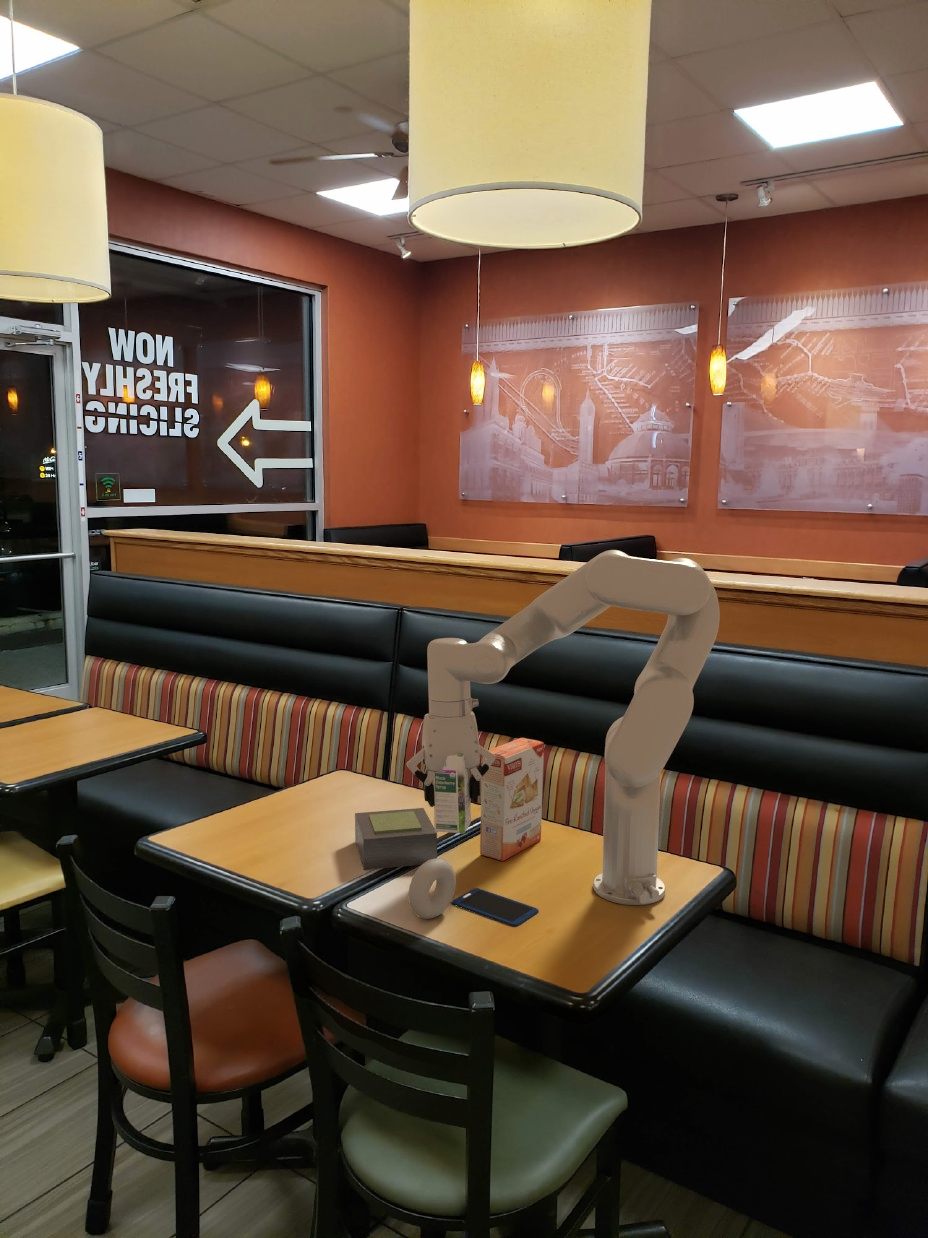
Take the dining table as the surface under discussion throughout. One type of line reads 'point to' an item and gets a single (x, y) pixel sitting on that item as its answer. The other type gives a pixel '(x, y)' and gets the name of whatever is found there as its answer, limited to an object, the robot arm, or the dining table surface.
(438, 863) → the donut
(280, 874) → the dining table surface
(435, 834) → the stand
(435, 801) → the syrup box
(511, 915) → the cell phone
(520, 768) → the cracker box
